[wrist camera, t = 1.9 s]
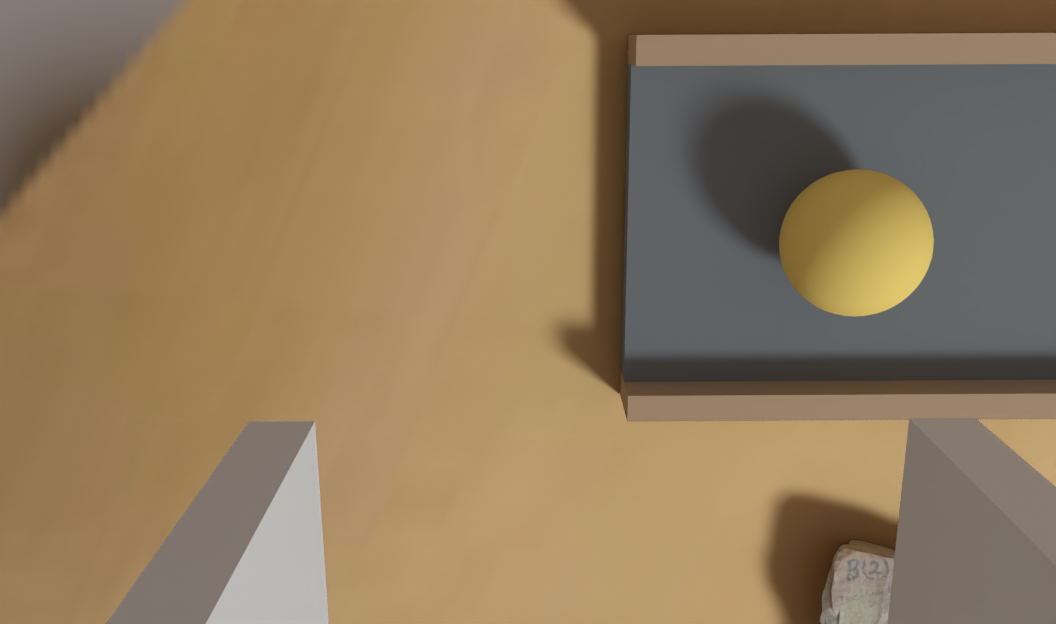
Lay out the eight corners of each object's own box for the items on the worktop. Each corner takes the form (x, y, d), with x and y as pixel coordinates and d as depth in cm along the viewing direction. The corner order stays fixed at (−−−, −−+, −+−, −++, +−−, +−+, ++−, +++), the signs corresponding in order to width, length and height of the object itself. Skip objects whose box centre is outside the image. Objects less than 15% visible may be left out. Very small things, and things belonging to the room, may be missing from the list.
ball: (760, 295, 30) (795, 335, 26) (768, 160, 28) (806, 180, 25) (894, 295, 30) (949, 334, 26) (908, 159, 28) (967, 180, 25)
